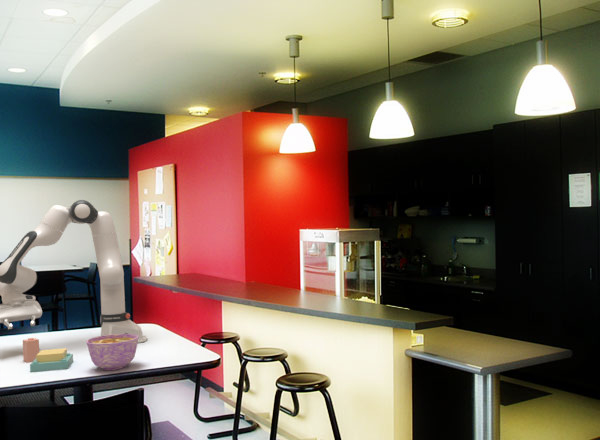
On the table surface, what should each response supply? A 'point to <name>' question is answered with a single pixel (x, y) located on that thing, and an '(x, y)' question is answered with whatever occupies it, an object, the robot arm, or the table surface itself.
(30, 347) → the tall brick
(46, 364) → the stepped square block
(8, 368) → the table surface
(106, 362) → the bowl of food
